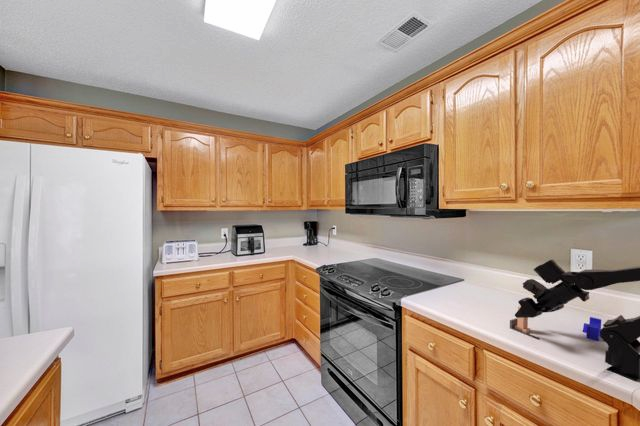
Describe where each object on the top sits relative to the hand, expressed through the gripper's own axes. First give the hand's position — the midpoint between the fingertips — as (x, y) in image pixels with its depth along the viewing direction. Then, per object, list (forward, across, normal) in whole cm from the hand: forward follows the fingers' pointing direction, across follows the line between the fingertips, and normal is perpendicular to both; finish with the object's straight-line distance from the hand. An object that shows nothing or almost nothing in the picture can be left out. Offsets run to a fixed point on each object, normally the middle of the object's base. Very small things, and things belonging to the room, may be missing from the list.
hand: (522, 314), depth 100 cm
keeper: (+4, 0, +4) cm, 6 cm away
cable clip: (-3, -21, +14) cm, 26 cm away
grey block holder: (+4, 0, +7) cm, 8 cm away
